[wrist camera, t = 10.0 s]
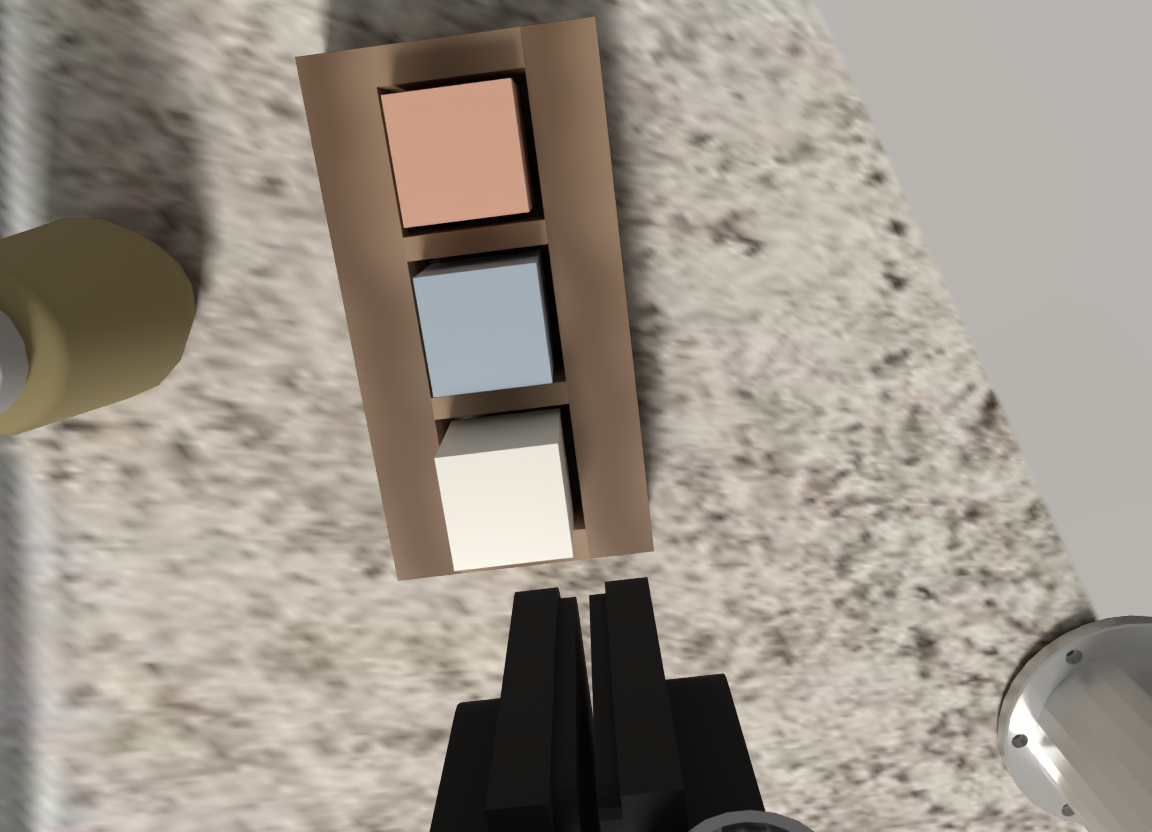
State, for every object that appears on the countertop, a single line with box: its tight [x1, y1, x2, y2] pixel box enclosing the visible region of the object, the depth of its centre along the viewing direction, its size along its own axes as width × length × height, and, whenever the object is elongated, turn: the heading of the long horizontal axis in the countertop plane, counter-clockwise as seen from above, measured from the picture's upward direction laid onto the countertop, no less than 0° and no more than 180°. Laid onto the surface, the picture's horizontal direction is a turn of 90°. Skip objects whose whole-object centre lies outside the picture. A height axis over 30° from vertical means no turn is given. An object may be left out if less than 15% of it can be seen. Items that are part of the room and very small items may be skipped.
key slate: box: [413, 249, 555, 397], centre depth 40 cm, size 5×5×5 cm
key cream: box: [434, 408, 573, 571], centre depth 40 cm, size 5×5×5 cm
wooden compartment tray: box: [295, 17, 654, 581], centre depth 41 cm, size 12×23×4 cm, turn 7°
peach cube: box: [381, 78, 535, 228], centre depth 38 cm, size 5×5×5 cm
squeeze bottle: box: [0, 218, 196, 435], centre depth 34 cm, size 8×8×18 cm
